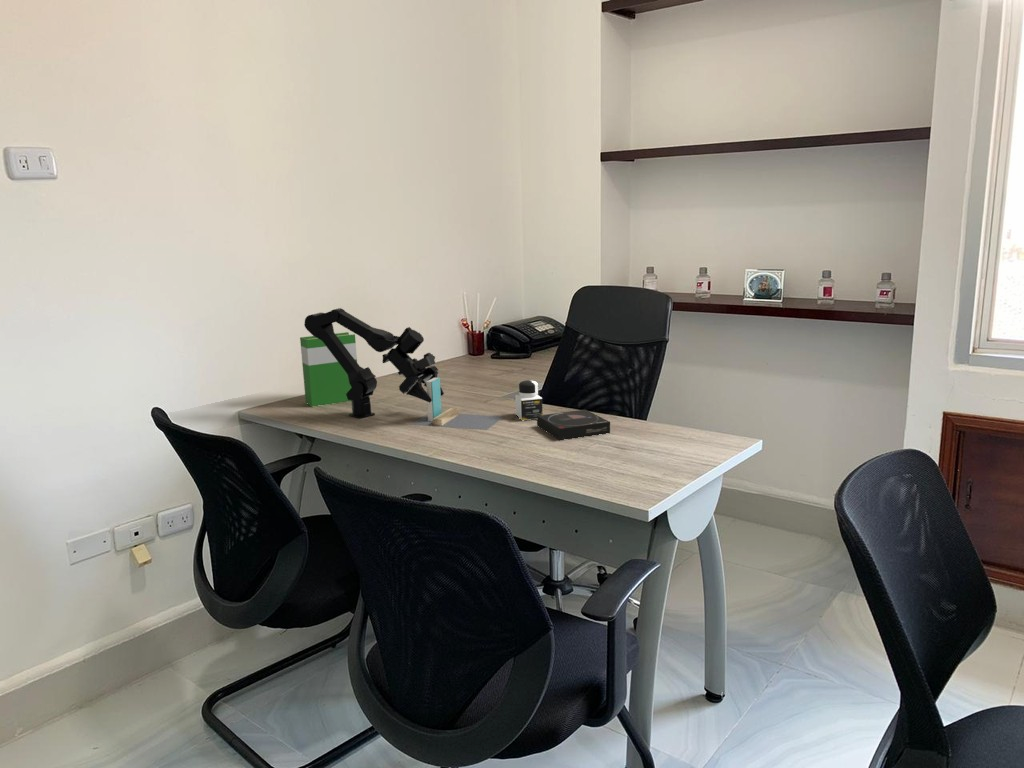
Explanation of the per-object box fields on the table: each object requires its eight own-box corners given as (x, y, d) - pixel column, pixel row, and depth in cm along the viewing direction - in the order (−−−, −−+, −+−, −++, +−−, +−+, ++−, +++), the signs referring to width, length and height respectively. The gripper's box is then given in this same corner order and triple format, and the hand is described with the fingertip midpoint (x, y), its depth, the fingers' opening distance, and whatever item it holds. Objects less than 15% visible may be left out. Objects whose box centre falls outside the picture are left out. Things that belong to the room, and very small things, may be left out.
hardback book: (352, 396, 286) (347, 332, 280) (359, 399, 279) (355, 334, 274) (305, 403, 277) (300, 337, 271) (312, 407, 270) (306, 340, 265)
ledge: (433, 425, 241) (432, 419, 241) (450, 413, 254) (450, 408, 254) (441, 425, 240) (441, 419, 240) (459, 414, 253) (458, 408, 253)
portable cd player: (584, 421, 245) (584, 409, 244) (610, 434, 229) (610, 421, 228) (537, 427, 239) (536, 415, 238) (560, 442, 223) (559, 428, 223)
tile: (428, 421, 246) (426, 381, 243) (436, 416, 252) (434, 377, 249) (434, 421, 245) (431, 381, 243) (441, 416, 251) (439, 377, 248)
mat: (410, 425, 243) (410, 424, 243) (431, 413, 258) (431, 411, 258) (486, 431, 234) (486, 429, 234) (504, 417, 249) (504, 416, 249)
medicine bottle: (521, 421, 245) (520, 384, 242) (515, 415, 251) (514, 380, 249) (543, 419, 247) (542, 382, 244) (536, 413, 253) (535, 378, 251)
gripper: (405, 351, 236) (440, 388, 235) (431, 341, 253) (463, 375, 252) (384, 375, 240) (418, 411, 239) (411, 364, 258) (443, 397, 256)
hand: (437, 398), depth 247 cm, fingers open, 9 cm apart
